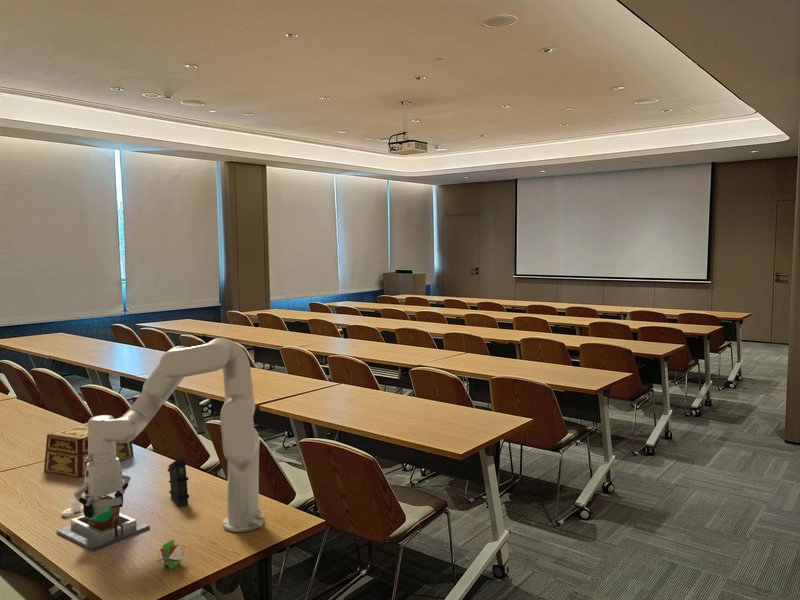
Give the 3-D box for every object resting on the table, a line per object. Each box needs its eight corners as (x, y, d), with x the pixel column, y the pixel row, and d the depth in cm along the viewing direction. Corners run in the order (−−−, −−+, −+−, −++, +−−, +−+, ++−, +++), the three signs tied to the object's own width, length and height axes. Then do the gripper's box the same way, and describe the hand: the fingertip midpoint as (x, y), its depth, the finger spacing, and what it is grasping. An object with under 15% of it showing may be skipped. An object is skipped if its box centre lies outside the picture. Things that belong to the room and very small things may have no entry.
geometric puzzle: (147, 560, 162) (160, 540, 160) (165, 548, 168) (178, 530, 166) (164, 579, 160) (177, 560, 158) (181, 567, 167) (195, 548, 164)
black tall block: (180, 506, 199) (174, 460, 203) (171, 510, 209) (166, 466, 213) (191, 503, 201) (185, 458, 205) (182, 507, 211) (176, 465, 216)
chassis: (149, 528, 186) (149, 517, 185) (92, 551, 171) (92, 539, 170) (113, 513, 197) (113, 502, 196) (56, 533, 182) (56, 522, 181)
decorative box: (100, 451, 260) (99, 417, 259) (134, 456, 253) (133, 422, 252) (43, 472, 234) (42, 434, 233) (79, 478, 227) (78, 440, 227)
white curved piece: (64, 520, 191) (63, 508, 191) (56, 513, 197) (55, 501, 197) (93, 512, 198) (92, 500, 198) (84, 505, 203) (84, 493, 203)
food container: (74, 528, 182) (76, 495, 182) (92, 522, 187) (94, 490, 187) (103, 536, 177) (105, 502, 177) (120, 529, 182) (122, 497, 182)
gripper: (80, 467, 173) (82, 524, 174) (135, 451, 187) (137, 504, 188) (67, 462, 177) (68, 518, 178) (122, 447, 191) (123, 499, 192)
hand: (103, 511), depth 183 cm, fingers open, 9 cm apart
